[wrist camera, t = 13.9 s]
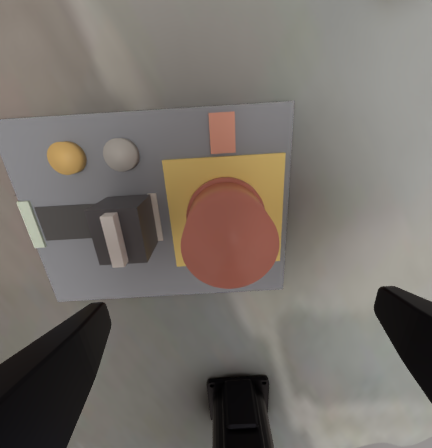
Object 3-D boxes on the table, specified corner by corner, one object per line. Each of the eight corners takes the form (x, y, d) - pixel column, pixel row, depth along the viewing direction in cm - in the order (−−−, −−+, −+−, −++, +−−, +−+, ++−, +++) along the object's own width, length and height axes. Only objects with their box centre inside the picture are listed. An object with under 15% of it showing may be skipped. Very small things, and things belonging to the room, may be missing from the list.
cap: (262, 246, 17) (281, 288, 13) (191, 250, 17) (183, 294, 13) (264, 174, 15) (286, 192, 11) (183, 179, 15) (169, 200, 11)
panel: (279, 281, 20) (285, 295, 18) (64, 293, 20) (51, 308, 19) (289, 102, 15) (299, 98, 13) (0, 120, 15) (-26, 119, 13)
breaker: (158, 241, 17) (144, 268, 14) (118, 243, 17) (94, 271, 14) (150, 194, 16) (132, 211, 12) (106, 196, 16) (77, 214, 12)
